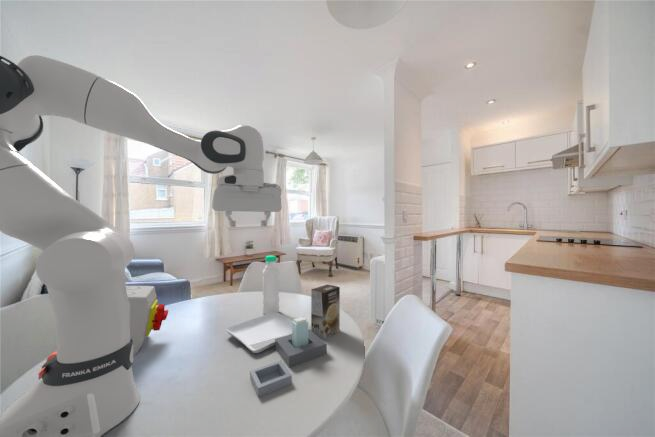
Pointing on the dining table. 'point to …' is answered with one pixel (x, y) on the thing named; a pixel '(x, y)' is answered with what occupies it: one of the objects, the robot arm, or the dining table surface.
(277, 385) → the grey storage bin
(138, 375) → the dining table surface
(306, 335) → the plug
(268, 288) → the water bottle
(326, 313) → the coffee box
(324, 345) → the block
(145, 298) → the electrical switch box
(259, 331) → the salad plate
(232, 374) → the dining table surface
